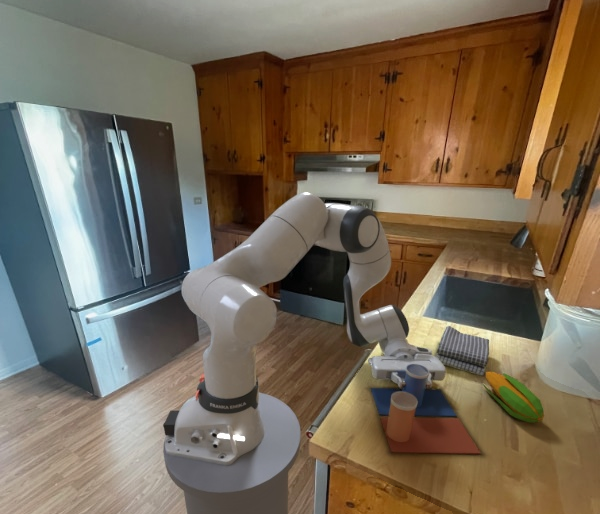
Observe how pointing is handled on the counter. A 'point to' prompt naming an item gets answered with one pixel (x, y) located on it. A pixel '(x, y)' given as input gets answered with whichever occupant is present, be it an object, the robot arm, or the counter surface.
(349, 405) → the counter surface
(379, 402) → the blue mat
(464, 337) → the towel
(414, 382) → the blue canister
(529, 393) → the corn
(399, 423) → the terracotta canister
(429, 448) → the terracotta mat
